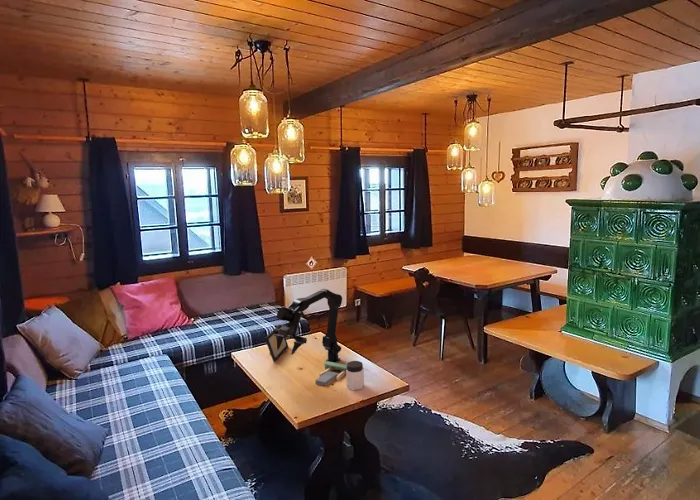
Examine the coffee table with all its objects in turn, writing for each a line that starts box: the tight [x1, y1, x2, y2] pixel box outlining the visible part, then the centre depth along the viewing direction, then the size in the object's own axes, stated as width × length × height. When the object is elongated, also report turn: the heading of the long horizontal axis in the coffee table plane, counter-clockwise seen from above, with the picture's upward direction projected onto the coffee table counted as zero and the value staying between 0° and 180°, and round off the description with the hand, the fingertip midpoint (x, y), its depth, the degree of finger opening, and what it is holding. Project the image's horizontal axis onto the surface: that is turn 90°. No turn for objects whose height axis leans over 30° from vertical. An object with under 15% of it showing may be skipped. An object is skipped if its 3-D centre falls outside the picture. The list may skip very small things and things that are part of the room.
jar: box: [345, 360, 365, 391], centre depth 219 cm, size 9×8×12 cm
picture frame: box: [264, 324, 289, 363], centre depth 265 cm, size 23×9×15 cm, turn 168°
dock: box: [319, 361, 347, 382], centre depth 235 cm, size 12×16×4 cm
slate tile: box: [314, 371, 339, 387], centre depth 228 cm, size 12×6×2 cm, turn 149°
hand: (284, 351), depth 229 cm, fingers open, 9 cm apart
